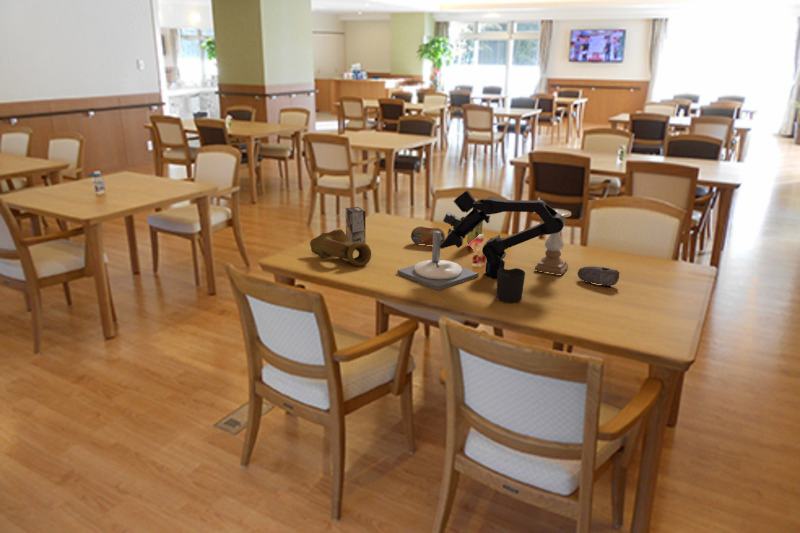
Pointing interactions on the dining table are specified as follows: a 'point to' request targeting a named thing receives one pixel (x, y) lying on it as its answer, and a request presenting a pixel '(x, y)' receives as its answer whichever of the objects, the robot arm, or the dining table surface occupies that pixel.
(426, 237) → the tin
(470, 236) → the sauce bottle
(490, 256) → the robot arm
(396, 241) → the dining table surface
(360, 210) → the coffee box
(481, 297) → the dining table surface
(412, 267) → the dial board
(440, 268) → the dial
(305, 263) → the dining table surface
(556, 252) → the candle holder
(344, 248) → the brown looped sculpture
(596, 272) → the perforated stone tool
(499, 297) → the pen holder
